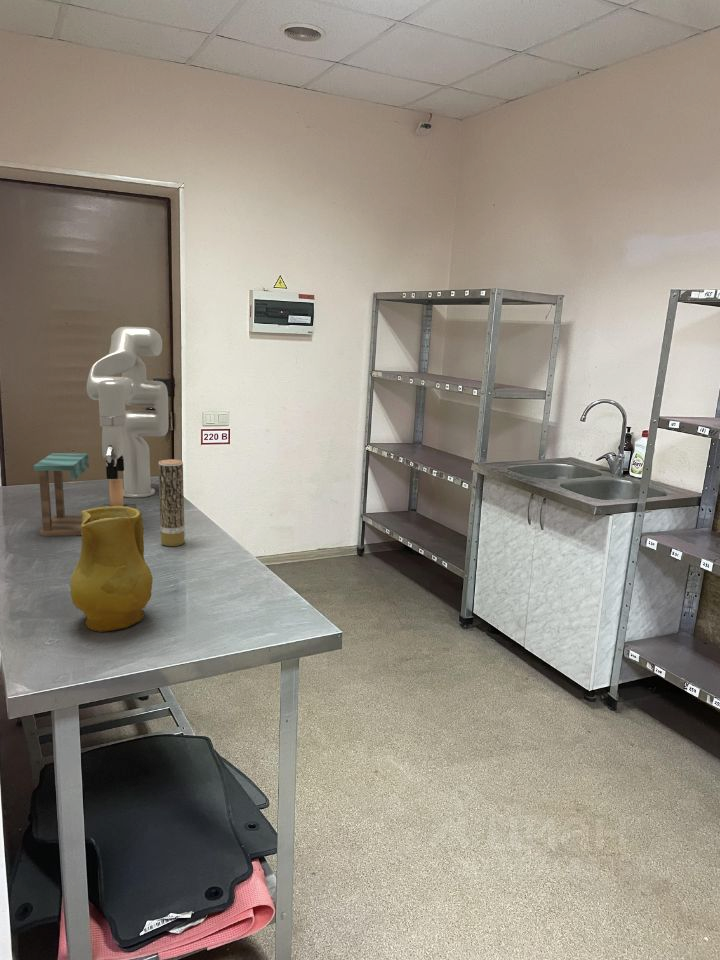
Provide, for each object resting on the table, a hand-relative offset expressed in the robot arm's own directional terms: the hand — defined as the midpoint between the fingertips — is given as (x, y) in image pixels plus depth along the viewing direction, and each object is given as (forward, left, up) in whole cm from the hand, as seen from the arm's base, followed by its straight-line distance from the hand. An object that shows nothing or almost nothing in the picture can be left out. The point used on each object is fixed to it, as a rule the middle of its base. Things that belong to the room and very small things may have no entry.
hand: (115, 474), depth 212 cm
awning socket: (+1, -8, -17) cm, 19 cm away
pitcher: (+69, +13, -17) cm, 72 cm away
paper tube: (+17, +19, -17) cm, 31 cm away
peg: (+1, 0, -16) cm, 16 cm away
